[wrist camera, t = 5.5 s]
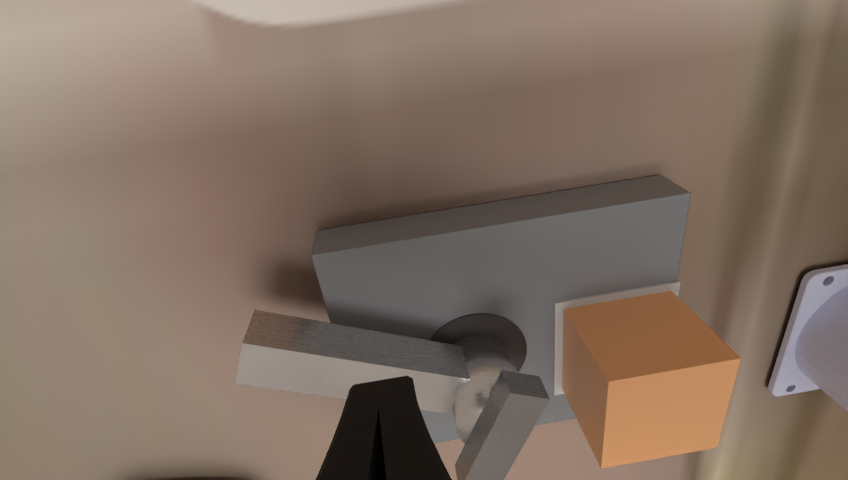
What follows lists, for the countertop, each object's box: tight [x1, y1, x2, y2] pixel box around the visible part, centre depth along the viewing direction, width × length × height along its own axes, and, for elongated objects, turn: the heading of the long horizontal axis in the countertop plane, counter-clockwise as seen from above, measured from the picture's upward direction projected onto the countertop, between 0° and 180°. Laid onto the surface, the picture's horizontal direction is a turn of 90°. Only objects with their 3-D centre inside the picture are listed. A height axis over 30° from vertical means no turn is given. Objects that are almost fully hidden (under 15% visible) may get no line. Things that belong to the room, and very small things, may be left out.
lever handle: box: [236, 310, 550, 480], centre depth 16 cm, size 5×10×4 cm, turn 73°
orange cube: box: [562, 291, 741, 469], centre depth 18 cm, size 4×4×4 cm
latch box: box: [311, 175, 691, 443], centre depth 20 cm, size 14×11×2 cm
